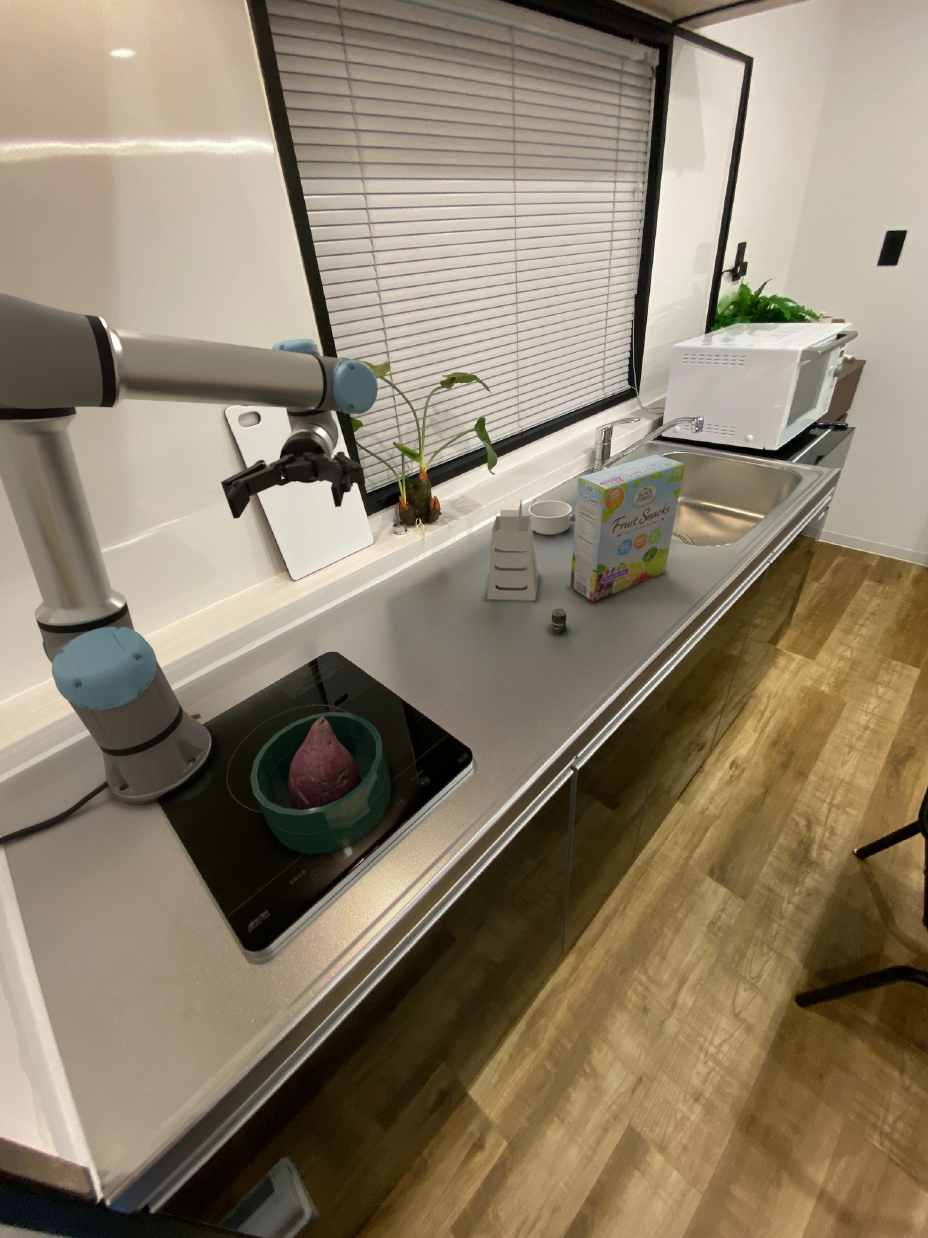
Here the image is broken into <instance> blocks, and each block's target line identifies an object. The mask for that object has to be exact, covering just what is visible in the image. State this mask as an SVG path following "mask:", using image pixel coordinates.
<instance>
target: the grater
mask: <svg viewBox="0 0 928 1238" xmlns="http://www.w3.org/2000/svg"><path fill="white" fill-rule="evenodd" d="M522 502H523V501H522V499H521V498H503V501H502V504H501V507H500V513H499V515H496V516H495V520H494V523H493V527H492V529H491V542H490V553H489V554H490V555H489V568H488V569H489V570H488V571H489V573H488V582H487V583H488V584H487V585H488V586H487V597H486V598H487V600H501V601H502V600H505V601H535V602H536V597H537V588H538V582H539V581H538V580H539V573H538V572H539V571H538V564H537V557H536V547H535V541H534V533H533V530H532V524H531V516H530V515H523V503H522ZM525 549H527V550H525ZM535 577H536V578H535ZM496 586H497V587H498V588H508V589H498V588H497V587H496ZM525 587H527V589H525V590H512V588H513V589H515V588H516V589H524V588H525ZM509 588H511V590H510V589H509Z"/></svg>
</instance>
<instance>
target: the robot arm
mask: <svg viewBox="0 0 928 1238" xmlns="http://www.w3.org/2000/svg"><path fill="white" fill-rule="evenodd" d="M378 385H379V384H378V380H377V377H376V374H375V373H374V371H373V369H372V368H371V367H370V366H369V365H368V364H366V363H365V362H362V361H359V360H356V359H354V358H340V357H334V356H333V357H332V356H325V355H321V353H320V352H319V347H318V345H317V343H316V342H315V340H314V339H311V338H297V339H296V338H295V339H288V340H283V341H278V342H276V343H274V344H273V345H272V347H271V348H265V347H264V348H263V347H258V346H257V347H256V346H250V345H243V344H234V343H227V342H219V341H211V340H205V339H198V338H197V339H196V338H190V337H189V338H188V337H181V336H173V335H168V334H167V335H166V334H160V333H152V332H143V331H135V330H129V329H122V328H121V329H120V328H114V327H112V326H111V325H110V324H109V323H108V322H107V321H106V320H105V319H104V318H103V317H102V316H98V315H90V314H83V313H78V312H73V311H67V310H63V309H60V308H56V307H52V306H49V305H48V306H47V305H44V304H42V303H41V304H40V303H37V302H34V301H31V300H27V299H23V298H20V297H18V296H14V295H12V294H8V293H0V480H1V483H2V485H3V488H4V489H3V490H4V491H5V495H6V497H7V498H6V499H7V500H8V502H9V506H10V509H11V512H12V515H13V518H14V520H15V523H16V526H17V529H18V532H19V535H20V538H21V541H22V543H23V547H24V549H25V553H26V555H27V559H28V562H29V564H30V567H31V570H32V572H33V576H34V579H35V581H36V584H37V587H38V590H39V594H40V596H41V599H42V602H41V603H40V604H39V606H38V607H37V608H36V609H35V611H34V618H35V621H36V624H37V627H38V629H39V632H40V635H41V638H42V649H43V651H44V653H45V656H46V657H47V659H48V661H49V662H50V663H51V675H52V678H53V680H54V683H55V687H56V688H57V691H58V692H59V694H60V695H61V696H62V697H63V698H64V699H65V700H66V701H68V703H69V705H70V706H71V708H72V709H73V711H74V712H75V714H76V715H77V716H78V718H79V720H80V721H81V723H82V724H83V725H84V727H85V728H86V730H87V731H88V732H89V734H90V735H91V737H92V738H93V740H94V741H95V743H96V744H97V746H98V747H99V749H100V750H101V751H102V759H103V766H104V771H105V780H106V781H104V782H103V783H102V784H100V785H99V786H97V787H96V788H95V789H93V790H92V791H90V792H89V793H87V794H86V795H85V796H84V797H82V798H81V799H80V800H78V801H77V802H76V803H75V804H73V805H72V806H71V807H70V808H68V809H66V810H65V811H63V812H61V813H59V814H57V815H55V816H53V817H51V818H49V819H47V820H44V821H42V822H38V823H36V824H33V825H30V826H26V827H24V828H22V829H19V830H17V831H13V832H10V833H8V834H6V835H3V836H1V837H0V845H2V844H4V843H6V842H9V841H12V840H14V839H15V840H16V839H17V838H20V837H22V836H26V835H28V834H31V833H34V832H38V831H39V830H42V829H45V828H47V827H50V826H52V825H54V824H56V823H58V822H60V821H62V820H64V819H66V818H68V817H70V816H72V815H73V814H74V813H76V812H77V811H78V810H80V808H82V807H83V806H84V805H86V804H87V803H88V802H89V801H91V800H92V799H94V798H95V797H96V796H98V795H99V794H101V793H102V792H103V791H104V790H106V789H107V788H109V789H110V791H111V793H112V794H113V795H114V796H115V798H117V799H118V800H119V801H121V802H123V803H126V804H129V805H146V804H152V803H157V802H160V801H162V800H165V799H167V798H170V797H172V796H174V795H177V794H178V793H180V792H181V791H184V790H185V789H186V788H187V787H189V786H191V785H192V783H194V782H195V781H197V779H198V778H199V777H200V776H201V775H202V774H203V773H204V772H205V771H206V769H207V768H208V767H209V765H210V763H211V761H212V759H213V757H214V753H215V743H214V739H213V738H212V736H211V733H210V731H209V730H208V728H207V727H206V726H204V724H202V723H201V722H199V721H198V720H200V719H202V716H201V714H200V713H194V714H191V715H190V714H189V713H188V712H186V711H185V709H183V707H182V705H181V704H180V702H179V700H178V698H177V696H176V694H175V692H174V690H173V688H172V686H171V685H170V683H169V681H168V679H167V677H166V674H165V673H164V671H163V670H162V667H161V666H160V663H159V661H158V660H157V655H156V652H155V651H154V649H153V647H152V645H151V644H150V643H149V642H148V641H147V640H146V638H145V637H144V636H143V635H142V634H141V633H139V632H138V631H136V630H135V627H134V624H133V620H132V617H131V613H130V609H129V605H128V602H127V597H126V596H125V595H124V594H122V593H121V592H119V591H118V590H115V589H113V588H112V586H111V582H110V579H109V578H110V577H109V575H108V571H107V567H106V564H105V561H104V557H103V553H102V550H101V546H100V542H99V539H98V535H97V531H96V527H95V525H94V521H93V516H92V514H91V509H90V506H89V503H88V499H87V495H86V492H85V488H84V483H83V481H82V477H81V474H80V470H79V467H78V462H77V458H76V456H75V452H74V449H73V444H72V441H71V438H70V434H69V430H68V429H69V427H70V425H71V424H72V422H73V421H75V419H76V418H77V417H78V414H77V409H76V408H113V409H115V408H116V407H117V406H118V405H119V404H120V403H121V402H122V401H123V400H131V401H132V400H136V401H153V402H169V403H188V404H190V403H191V404H207V405H208V404H209V405H210V404H211V405H224V406H225V405H227V406H228V405H229V406H245V407H246V406H247V407H248V406H249V407H264V408H281V409H282V408H283V409H285V411H286V415H287V419H288V422H289V427H290V431H291V432H290V434H289V435H288V437H287V439H286V440H285V442H284V443H283V445H282V448H281V449H280V452H279V458H278V459H277V460H275V461H272V462H270V463H269V464H267V463H266V460H264V459H259V460H257V461H256V462H255V463H254V464H253V465H251V466H249V467H247V468H245V469H243V470H241V471H239V472H237V473H235V474H234V475H231V476H229V477H227V478H225V479H223V480H222V481H221V482H220V484H221V487H222V490H223V492H224V495H225V498H226V501H227V504H228V507H229V510H230V512H231V515H232V518H233V519H240V518H241V516H242V514H243V513H244V511H245V510H246V508H247V506H248V504H249V503H250V502H251V496H254V495H256V494H258V493H261V492H263V491H265V490H267V489H270V488H272V487H275V486H279V487H283V486H285V485H287V484H290V483H292V482H293V483H296V482H299V483H302V484H313V483H316V482H320V483H321V482H324V481H326V482H329V483H331V486H330V490H331V494H332V499H333V505H334V507H335V508H339V507H342V504H343V500H344V499H343V498H344V495H345V493H350V492H351V490H352V487H353V486H354V484H357V485H359V486H363V485H365V484H366V477H365V473H364V466H362V464H360V463H358V462H356V461H354V460H353V459H351V458H350V457H348V456H346V453H345V451H341V450H340V451H338V452H336V454H334V455H333V453H334V451H335V449H336V447H337V444H338V440H339V429H338V428H339V427H338V425H337V422H336V420H335V419H334V417H333V414H332V412H341V413H343V414H346V415H363V414H365V413H367V412H369V410H370V409H372V408H373V407H374V404H375V403H376V400H377V398H378V397H377V396H378V391H379V390H378Z"/></svg>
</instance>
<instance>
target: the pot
mask: <svg viewBox="0 0 928 1238" xmlns="http://www.w3.org/2000/svg"><path fill="white" fill-rule="evenodd" d="M321 717H324V719H326V720H327V721H328V722H329V724H330V726H331V727H332V730H333V733H334V735H335V736H336V738H337V740H338V741H339V742H340V744H341V745H343V746H344V747H345V748H346V749H347V750H348V752H349V753H350V754H351V755H352V757H353V758H354V760H355V762H356V764H357V766H358V770H359V773H360V777H361V781H362V782H361V783H360V785H359V786H358V787H356V788H355V789H354V790H352V791H351V792H350V793H348V794H347V795H346V796H344V797H343V798H341V799H339V800H336V801H334V802H332V803H329V804H327V805H325V806H322V807H316V808H311V809H305V810H298V809H293V807H292V804H291V801H290V797H289V790H288V780H289V771H290V766H291V762H292V760H293V758H294V756H295V754H296V752H297V751H298V750H299V748H300V747H301V746H302V744H303V742H304V741H305V739H306V737H307V735H308V733H309V731H310V729H311V727H312V725H313V724H314V723H315V722H316V721H317V720H318V719H320V718H321ZM390 773H391V772H390V769H389V765H388V761H387V757H386V753H385V749H384V745H383V741H382V738H381V736H380V734H379V732H378V730H377V729H376V727H375V726H374V725H373V724H372V723H370V721H368V720H367V719H365V718H364V717H361V716H358V715H356V714H352V713H349V712H338V711H328V712H323V713H322V712H321V713H317V714H311V715H309V716H306V717H304V718H301V719H298V720H295V721H293V722H292V723H290V724H289V725H287V726H285V727H283V728H282V729H281V730H279V731H277V732H276V733H275V734H274V735H272V737H270V738H269V740H268V741H267V742H266V743H265V744H264V745H263V746H262V747H261V748H260V750H259V752H258V754H257V755H256V757H255V759H254V760H253V763H252V768H251V772H250V776H249V779H250V785H251V788H252V794H253V797H254V798H255V800H256V802H257V804H258V806H259V809H260V810H261V812H262V814H263V816H264V819H265V821H266V823H267V825H268V827H269V829H270V831H271V832H272V833H273V835H274V836H275V838H276V839H277V840H278V841H279V843H282V845H283V846H285V847H286V848H288V849H289V850H293V851H296V852H297V853H302V854H311V855H318V854H320V855H321V854H327V853H333V852H336V851H339V850H342V849H344V848H346V847H349V846H352V844H354V843H356V842H358V841H359V840H361V839H362V838H364V837H365V836H367V835H368V834H369V833H370V832H371V831H372V830H373V829H374V828H375V827H376V826H377V824H378V823H379V822H380V821H381V819H382V818H383V816H384V815H385V813H386V811H387V809H388V807H389V804H390V800H391V798H392V797H391V796H392V781H391V774H390Z"/></svg>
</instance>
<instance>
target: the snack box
mask: <svg viewBox="0 0 928 1238" xmlns="http://www.w3.org/2000/svg"><path fill="white" fill-rule="evenodd" d="M685 467H686V464H685V463H683V462H682V461H678V460H675V459H673V458H668V457H666V456H662V455H659V454H652V455H649V456H645V457H642V458H638V459H635V460H632V461H628V462H625V463H621V464H618V465H614V466H612V467H608V468H604V469H602V470H599V471H596V472H593V473H589V474H585V475H582V476H579V477H578V478H577V487H576V488H577V490H576V491H577V492H576V503H575V514H576V516H575V521H574V532H573V544H572V545H573V546H572V559H571V572H570V584H569V585H570V588H572V589H573V590H575V591H577V592H578V593H579V594H581V595H582V596H583V597H585V598H586V599H588V600H589V601H591V603H595V602H597V601H600V600H603V599H605V598H607V597H609V596H612V595H614V594H616V593H619V592H621V591H624V590H626V589H628V588H631V587H633V586H635V585H638V584H640V583H642V582H645V581H647V580H650V579H652V578H655V577H657V576H659V575H660V576H661V575H662V574H664V573H666V568H667V563H668V558H669V554H670V553H669V551H670V548H671V547H670V546H671V542H672V536H673V530H674V525H675V520H676V513H677V509H678V503H679V499H680V493H681V487H682V482H683V477H684V472H685Z"/></svg>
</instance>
